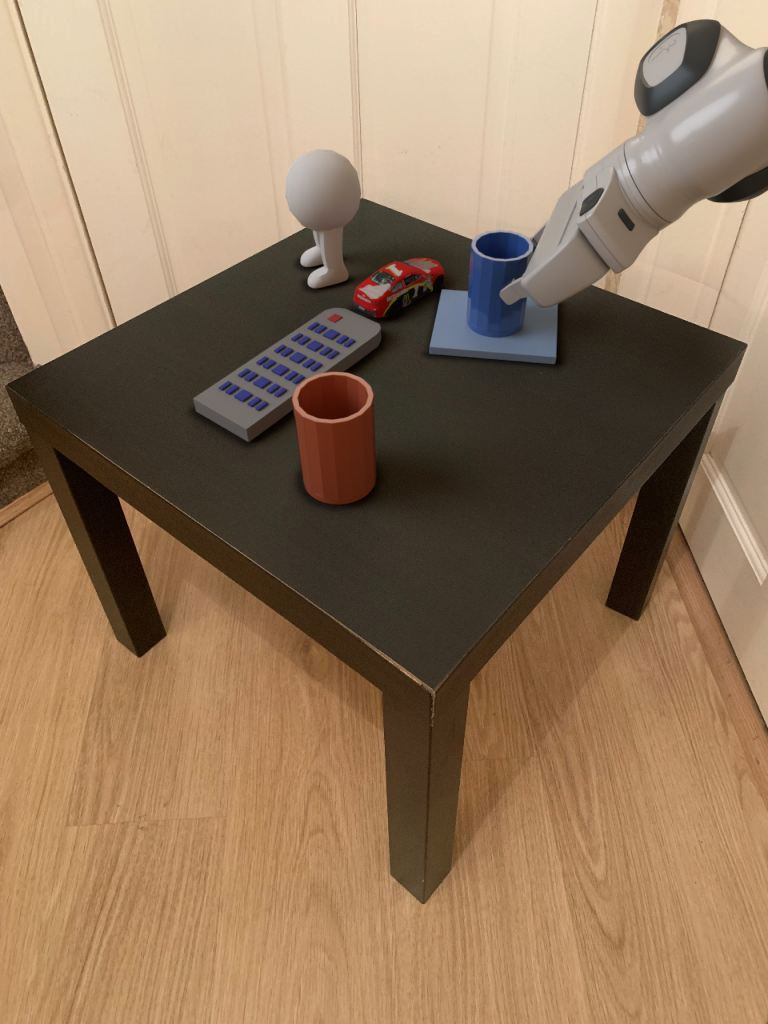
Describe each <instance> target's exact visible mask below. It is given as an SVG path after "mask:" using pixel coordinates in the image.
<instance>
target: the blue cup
mask: <svg viewBox="0 0 768 1024" xmlns="http://www.w3.org/2000/svg"><path fill="white" fill-rule="evenodd" d="M529 238H530V237H527V235H524V234H523V233H520V232H518V231H517V232H516V231H512V230H505V229H497V230H489V231H484V232H482V233H479V234H478V235H477V236H475V237H474V238H473V239H472V241H471V244H470V256H469V271H468V287H467V291H468V299H467V314H466V315H467V320H466V321H467V324H468V326H469V328H470V329H471V330H473V331H474V332H476V333H478V334H480V335H483V336H487V337H494V338H500V337H507V336H511V335H513V334H515V333H517V332H519V331H520V330H521V328H522V327H523V324H524V318H525V310H526V302H527V297H526V298H521V299H519V300H518V301H516V302H514V303H513V304H511V305H507V304H506V303H505V302H504V301H503V300H502V298H501V297H500V291H501V290H502V288H503V286H504V285H505V284H506V283H508V282H509V281H510V280H512V279H513V278H514V279H515V280H517V279H519V278H521V277H522V276H523V274H524V273H525V271H526V269H527V267H528V265H529V262H530V260H531V258H532V256H533V247H534V244H533V243H532V241H531V240H530V239H529Z"/></svg>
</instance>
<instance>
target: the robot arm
mask: <svg viewBox="0 0 768 1024" xmlns="http://www.w3.org/2000/svg"><path fill="white" fill-rule="evenodd" d="M633 86H634V87H633V98H634V103H635V105H636V108H637V110H638V112H639V113H640V114H641V115H642V117H643V119H644V126H643V129H642V130H641V131H640V132H639V133H637V134H635V135H633V136H631V137H629V138H627V139H625V140H624V141H623V142H622V143H620V144H619V145H618V146H617V147H615V148H614V149H612V150H611V151H610V152H608V153H607V154H606V155H604V156H603V157H601V158H600V159H599V160H597V161H596V162H595V163H593V164H592V165H590V166H589V167H588V168H587V169H586V170H585V171H584V174H583V178H582V179H580V180H579V181H578V182H576V183H574V184H573V185H572V186H570V187H569V188H568V189H566V190H565V191H563V193H562V194H561V195H560V196H559V197H558V199H557V200H556V203H555V204H554V207H553V209H552V212H551V214H550V216H549V218H548V220H547V221H545V223H544V224H542V226H541V227H540V228H539V229H538V230H537V231H536V232H535V233H534V234H533V235H532V236H530V237H528V238H529V239H530V240H531V241H532V243H533V244H534V247H533V256H532V258H531V260H530V262H529V265H528V267H527V269H526V271H525V273H524V274H523V276H522V277H521V278H519V279H517V280H515V279H514V278H513V279H512V280H510V281H509V282H508V283H506V284H505V285H504V286H503V288H502V290H501V291H500V297H501V298H502V300H503V301H504V302H505V303H506V304H507V305H511V304H513V303H514V302H516V301H518V300H519V299H521V298H526V297H530V298H531V299H532V301H533V302H534V303H535V304H536V305H537V306H538V307H540V308H547V307H552V306H554V305H556V304H558V305H559V304H560V303H562V302H564V301H566V300H568V299H570V298H571V297H573V296H575V295H577V294H578V293H580V292H582V291H584V290H585V289H588V288H589V287H590V286H591V287H592V286H593V285H594V284H595V283H597V282H598V281H600V280H601V279H602V278H603V277H605V276H606V275H607V274H608V273H609V271H610V270H611V271H612V272H613V273H614V274H620V273H622V272H623V271H625V270H627V269H628V268H630V267H631V266H633V264H634V263H635V262H636V261H637V260H638V258H639V256H640V255H641V253H642V252H643V250H644V249H645V248H646V246H647V245H648V244H649V243H650V242H651V240H653V239H654V238H656V237H657V236H658V235H659V234H660V232H662V231H663V230H664V229H666V228H667V227H669V226H671V225H672V224H673V223H675V222H677V221H678V220H679V219H682V217H683V216H684V215H685V214H686V212H688V210H689V209H690V208H692V207H693V206H694V205H696V204H698V203H700V202H701V201H704V200H707V201H710V202H712V203H716V204H717V203H718V204H733V203H742V202H746V201H750V200H753V199H756V198H758V197H760V196H762V195H763V194H765V193H767V192H768V46H760V47H756V48H754V47H751V46H749V45H747V44H745V43H744V42H743V41H741V40H740V39H739V38H737V36H735V35H734V34H733V33H732V32H731V31H730V30H728V29H727V28H726V27H725V26H724V25H723V24H721V22H720V21H719V20H716V19H709V18H703V19H701V18H700V19H696V20H695V19H694V20H691V21H686V22H682V23H680V24H679V25H677V26H675V27H673V28H671V30H669V31H668V32H667V33H666V34H664V35H663V36H662V37H660V38H659V39H658V40H657V41H656V42H655V43H654V44H653V45H652V46H651V47H650V48H649V49H648V50H647V51H646V52H645V53H644V55H643V56H642V57H641V59H640V61H639V63H638V67H637V70H636V74H635V79H634V85H633Z"/></svg>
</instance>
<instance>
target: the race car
mask: <svg viewBox="0 0 768 1024" xmlns="http://www.w3.org/2000/svg"><path fill="white" fill-rule="evenodd" d="M445 281H446V273H445V270H444V268H443V266H442V265H441V263H440V262H439V261H437V260H435V259H432V258H428V257H414V258H411V259H407V260H404V261H397V260H393V262H390V263H387V264H386V265H384V266H383V267H380V268H379V269H378V270H377V271H375V272H373V273H372V274H371V275H370V276H368V277H367V278H366V279H365V280H364V281H362V282H361V283H360V284H359V285H358V286H356V288H355V290H354V294H353V297H352V298H353V308H354V309H356V310H359V311H360V312H362V313H364V314H366V315H368V316H369V317H373V318H376V319H377V318H386V317H389V316H391V317H394V316H397V314H398V313H399V311H400V309H401V310H402V309H404V308H406V307H407V306H410V305H411V304H412V303H414V302H415V301H417V300H419V299H421V298H423V297H425V296H426V295H428V294H429V293H431V292H433V291H439V290H440V289H442V286H443V285H444V283H445Z"/></svg>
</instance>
